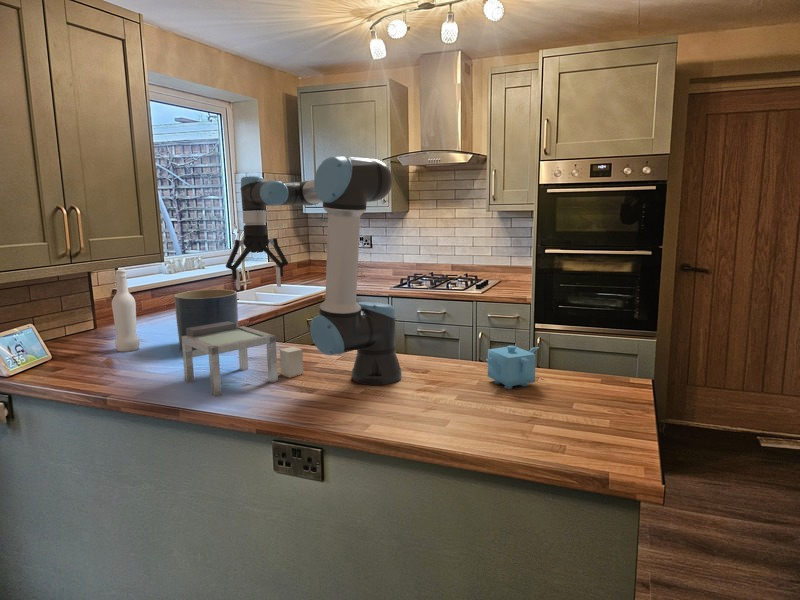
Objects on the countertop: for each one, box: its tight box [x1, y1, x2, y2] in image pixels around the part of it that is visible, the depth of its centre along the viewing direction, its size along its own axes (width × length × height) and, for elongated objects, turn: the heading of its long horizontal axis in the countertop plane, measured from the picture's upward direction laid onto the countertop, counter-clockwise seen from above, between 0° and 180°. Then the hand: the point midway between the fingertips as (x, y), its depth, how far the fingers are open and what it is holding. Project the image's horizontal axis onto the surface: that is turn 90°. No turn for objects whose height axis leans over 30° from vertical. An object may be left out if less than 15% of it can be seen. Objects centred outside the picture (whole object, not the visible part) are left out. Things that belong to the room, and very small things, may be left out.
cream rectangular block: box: [279, 346, 304, 378], centre depth 173 cm, size 5×5×8 cm
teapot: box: [485, 345, 540, 390], centre depth 161 cm, size 16×18×11 cm
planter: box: [173, 288, 239, 352], centre depth 210 cm, size 22×22×20 cm
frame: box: [181, 325, 279, 398], centre depth 166 cm, size 20×20×14 cm
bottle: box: [111, 268, 141, 353], centre depth 205 cm, size 8×8×30 cm
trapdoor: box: [186, 321, 261, 345], centre depth 168 cm, size 20×15×5 cm
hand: (258, 287), depth 187 cm, fingers open, 13 cm apart
